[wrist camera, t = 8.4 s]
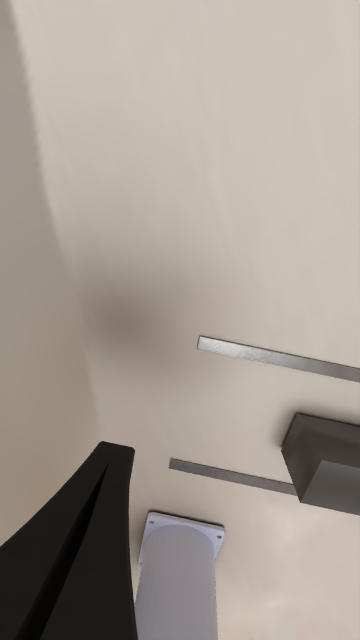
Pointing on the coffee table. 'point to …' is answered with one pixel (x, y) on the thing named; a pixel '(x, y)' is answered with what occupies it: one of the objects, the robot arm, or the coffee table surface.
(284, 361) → the rail track
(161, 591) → the robot arm
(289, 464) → the cart
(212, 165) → the coffee table surface
